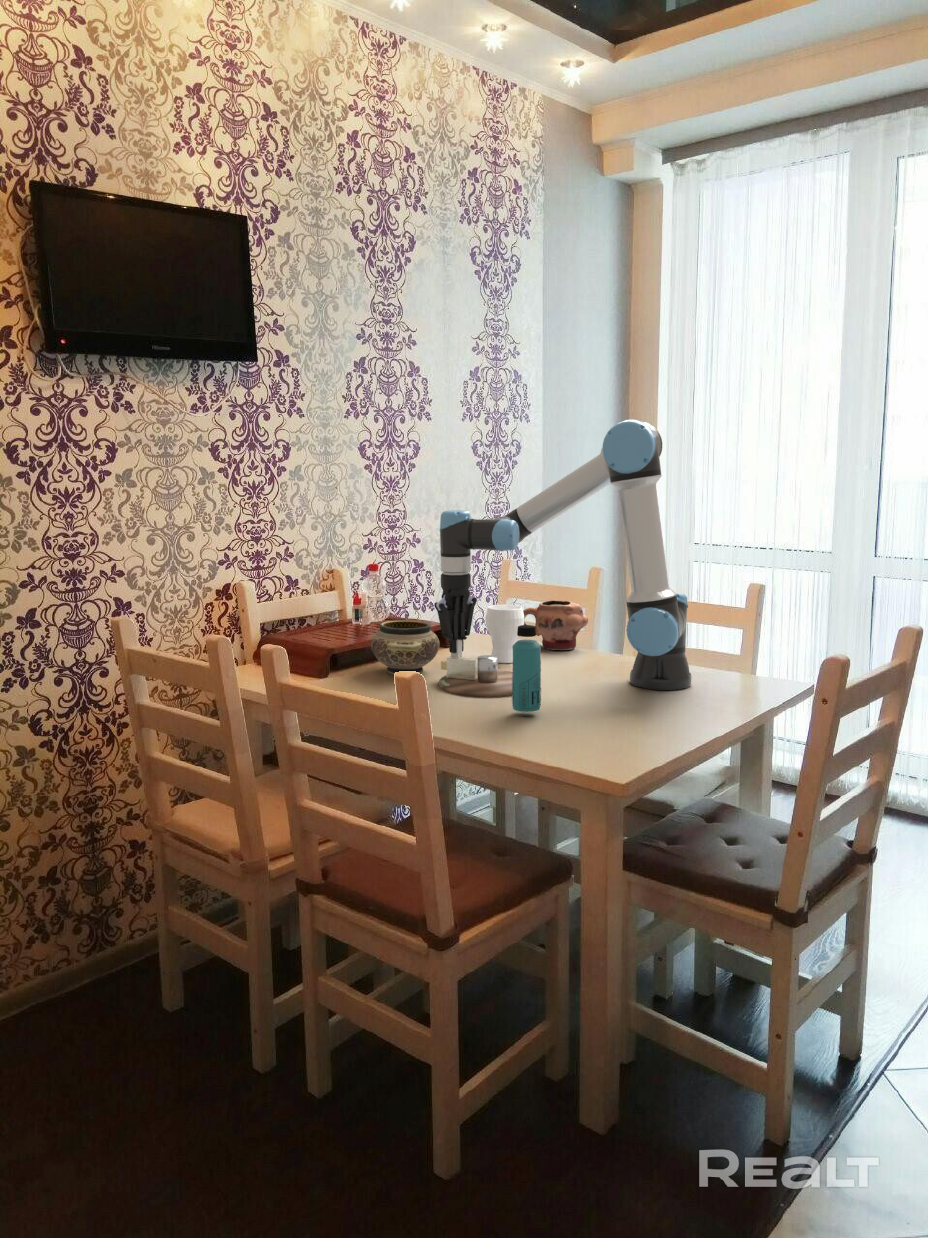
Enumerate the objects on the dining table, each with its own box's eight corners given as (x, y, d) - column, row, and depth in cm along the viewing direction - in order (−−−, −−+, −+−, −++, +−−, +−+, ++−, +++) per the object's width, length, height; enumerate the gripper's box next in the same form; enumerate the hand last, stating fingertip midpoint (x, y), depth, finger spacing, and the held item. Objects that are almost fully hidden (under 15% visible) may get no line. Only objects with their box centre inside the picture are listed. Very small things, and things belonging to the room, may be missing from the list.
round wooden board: (555, 688, 228) (555, 683, 228) (471, 702, 216) (471, 696, 216) (501, 669, 248) (501, 664, 248) (422, 680, 236) (422, 675, 236)
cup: (530, 659, 261) (531, 606, 259) (511, 666, 252) (512, 611, 250) (497, 654, 267) (498, 602, 264) (478, 661, 258) (478, 608, 255)
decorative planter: (519, 652, 270) (519, 604, 268) (519, 643, 282) (520, 598, 280) (588, 653, 269) (589, 605, 267) (586, 644, 281) (587, 598, 279)
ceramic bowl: (426, 694, 234) (441, 637, 232) (358, 676, 234) (372, 619, 231) (433, 671, 258) (446, 620, 256) (371, 655, 258) (384, 603, 256)
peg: (500, 678, 233) (500, 656, 232) (493, 683, 229) (493, 660, 228) (445, 673, 239) (445, 651, 238) (438, 678, 234) (437, 655, 233)
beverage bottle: (532, 720, 201) (533, 629, 198) (505, 715, 205) (506, 626, 201) (546, 713, 207) (547, 624, 203) (519, 709, 210) (520, 621, 207)
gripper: (463, 568, 240) (464, 658, 244) (426, 573, 231) (427, 666, 235) (484, 571, 234) (485, 662, 239) (446, 576, 226) (448, 671, 230)
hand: (456, 664), depth 237 cm, fingers closed
